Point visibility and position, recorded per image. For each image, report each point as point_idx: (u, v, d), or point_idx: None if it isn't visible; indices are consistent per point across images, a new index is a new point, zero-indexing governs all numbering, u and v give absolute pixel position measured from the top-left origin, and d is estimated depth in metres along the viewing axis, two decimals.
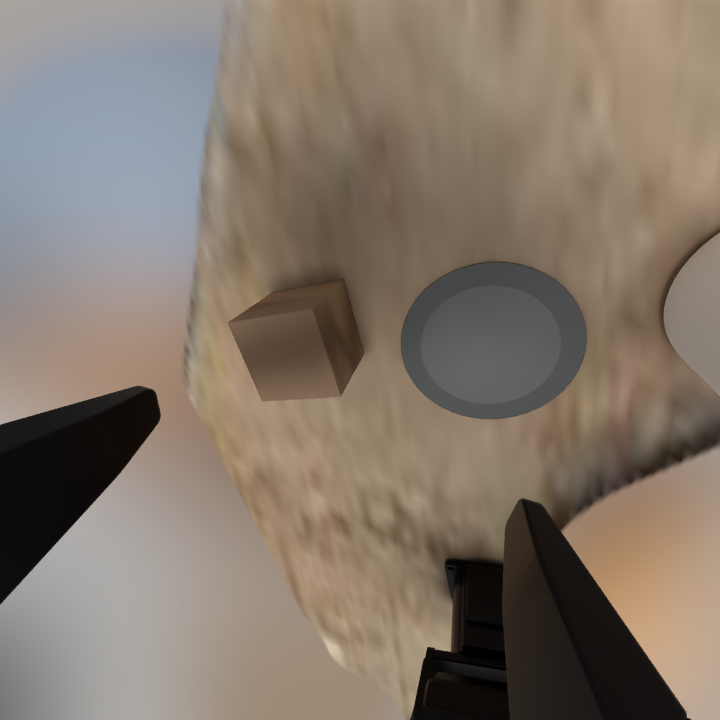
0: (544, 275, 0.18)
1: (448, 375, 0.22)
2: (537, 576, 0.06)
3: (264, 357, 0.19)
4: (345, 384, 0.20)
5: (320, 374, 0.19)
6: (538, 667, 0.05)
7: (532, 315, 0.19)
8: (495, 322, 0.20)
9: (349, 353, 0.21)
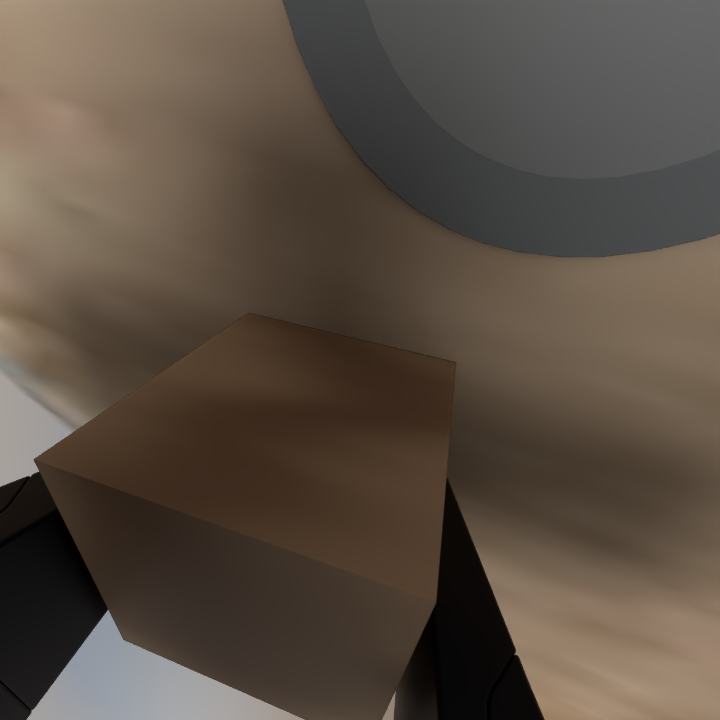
0: None
1: (711, 80, 0.05)
2: None
3: (218, 653, 0.06)
4: (432, 515, 0.04)
5: (300, 590, 0.04)
6: None
7: None
8: None
9: (380, 412, 0.06)
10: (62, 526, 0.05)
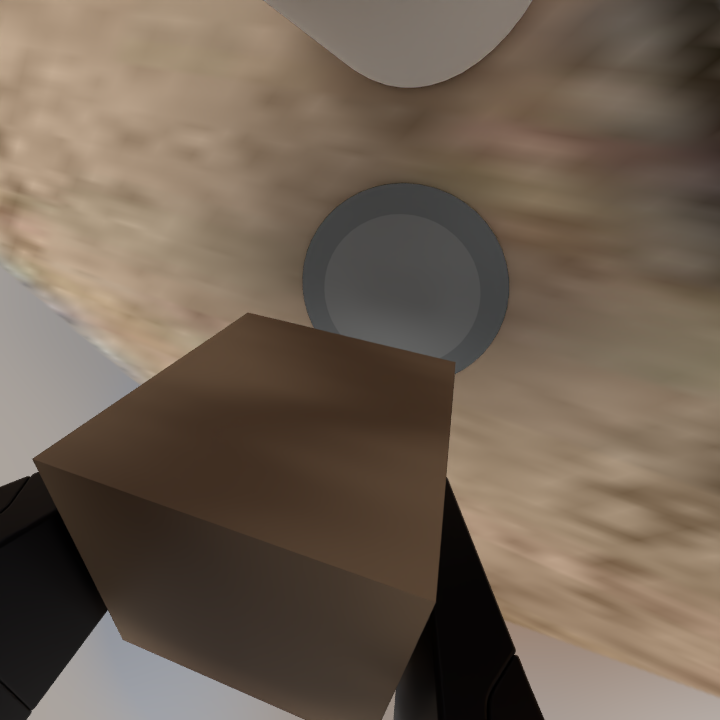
0: (330, 215, 0.16)
1: (420, 347, 0.18)
2: None
3: (217, 653, 0.06)
4: (431, 515, 0.04)
5: (299, 590, 0.04)
6: None
7: (370, 239, 0.16)
8: (368, 278, 0.17)
9: (379, 411, 0.06)
10: (62, 526, 0.05)
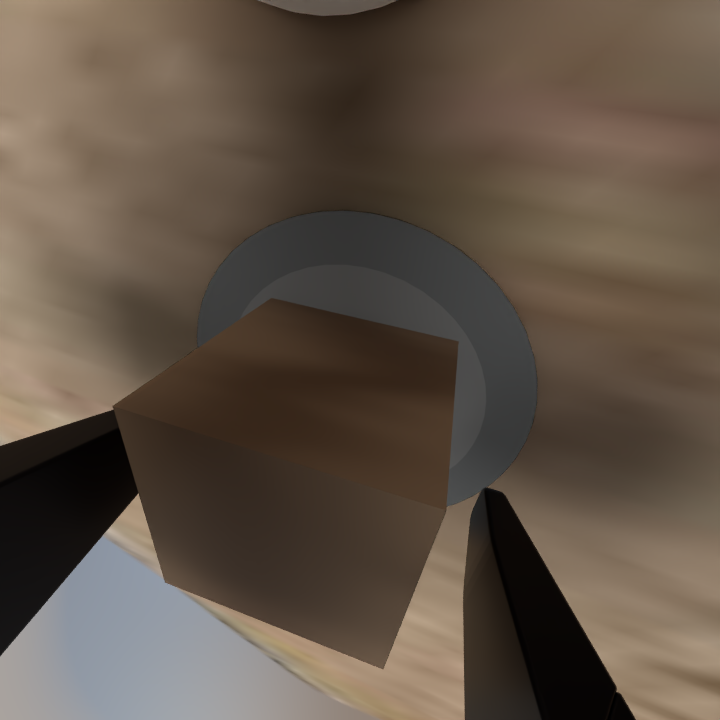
0: (226, 263, 0.10)
1: None
2: (490, 561, 0.06)
3: (253, 584, 0.07)
4: (441, 453, 0.05)
5: (334, 510, 0.05)
6: (487, 648, 0.05)
7: None
8: None
9: (394, 378, 0.07)
10: (0, 502, 0.06)
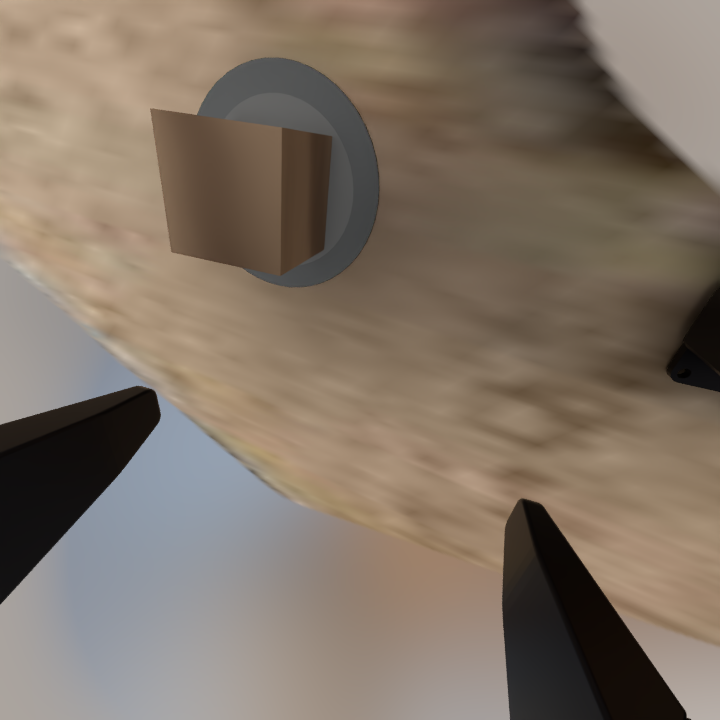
0: (205, 102, 0.17)
1: None
2: (537, 576, 0.06)
3: (215, 228, 0.14)
4: (290, 129, 0.12)
5: (243, 146, 0.12)
6: (538, 667, 0.05)
7: None
8: None
9: None
10: None
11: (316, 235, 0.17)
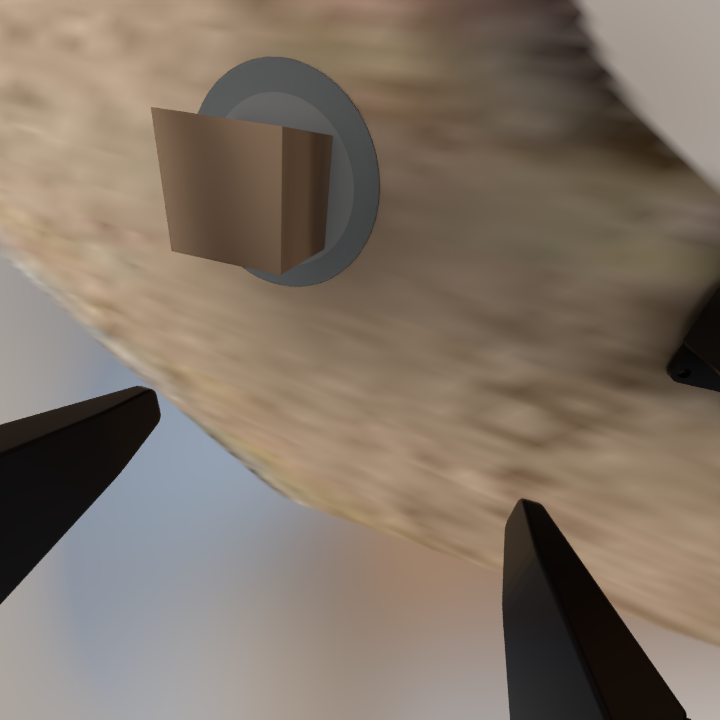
0: (206, 101, 0.17)
1: None
2: (537, 576, 0.06)
3: (215, 227, 0.14)
4: (291, 128, 0.12)
5: (243, 145, 0.12)
6: (538, 667, 0.05)
7: None
8: None
9: None
10: None
11: (317, 234, 0.17)
